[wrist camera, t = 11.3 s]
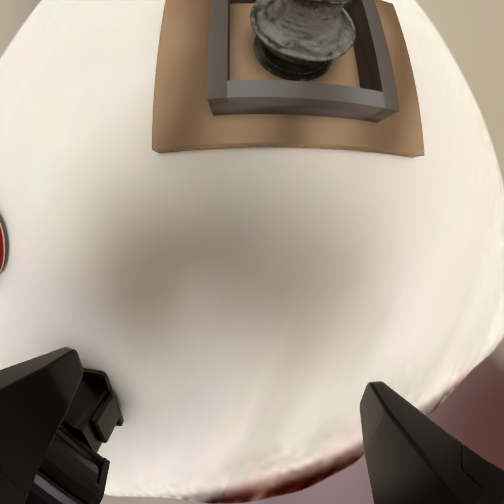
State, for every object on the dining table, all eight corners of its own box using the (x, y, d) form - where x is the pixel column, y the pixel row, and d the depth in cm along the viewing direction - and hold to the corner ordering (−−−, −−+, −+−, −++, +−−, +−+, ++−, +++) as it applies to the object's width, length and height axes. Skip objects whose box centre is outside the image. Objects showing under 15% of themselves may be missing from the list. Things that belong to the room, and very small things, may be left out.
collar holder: (159, 152, 17) (133, 140, 12) (171, -1, 14) (159, -34, 10) (413, 157, 17) (450, 150, 13) (385, 11, 14) (407, -14, 10)
